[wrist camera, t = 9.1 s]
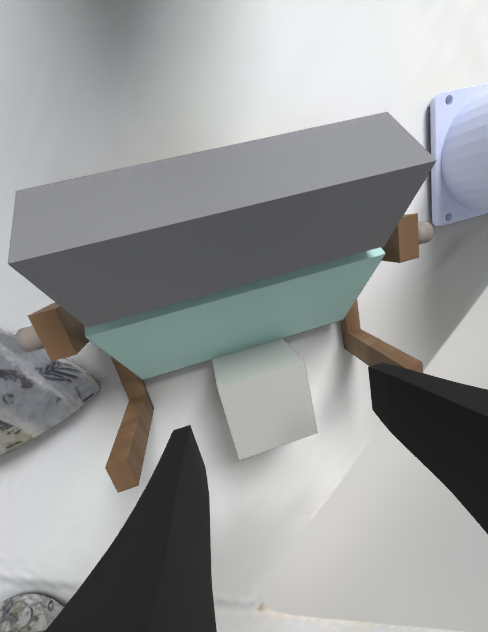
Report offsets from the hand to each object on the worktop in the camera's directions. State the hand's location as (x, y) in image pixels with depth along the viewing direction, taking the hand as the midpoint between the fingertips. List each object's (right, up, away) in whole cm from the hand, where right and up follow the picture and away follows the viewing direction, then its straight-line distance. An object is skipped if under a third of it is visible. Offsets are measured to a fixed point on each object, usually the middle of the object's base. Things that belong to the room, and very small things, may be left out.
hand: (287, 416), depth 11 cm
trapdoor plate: (-2, +7, +4) cm, 8 cm away
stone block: (-1, +1, +7) cm, 7 cm away
